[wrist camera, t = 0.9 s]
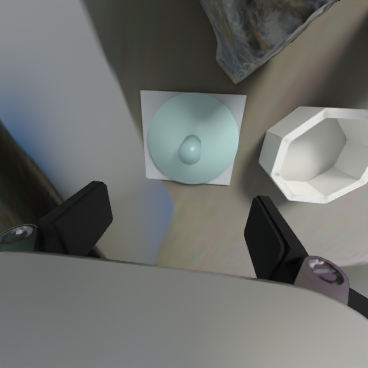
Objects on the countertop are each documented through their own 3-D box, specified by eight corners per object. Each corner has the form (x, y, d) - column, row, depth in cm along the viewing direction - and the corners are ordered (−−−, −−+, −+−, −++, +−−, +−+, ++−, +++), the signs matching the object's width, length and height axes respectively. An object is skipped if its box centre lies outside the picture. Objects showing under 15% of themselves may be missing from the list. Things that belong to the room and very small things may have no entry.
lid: (147, 90, 23) (129, 87, 18) (246, 95, 22) (261, 93, 17) (151, 178, 30) (139, 196, 24) (229, 185, 29) (235, 206, 23)
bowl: (273, 104, 23) (292, 105, 18) (365, 109, 22) (411, 111, 17) (253, 181, 28) (263, 197, 24) (325, 187, 28) (352, 205, 23)
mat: (141, 90, 24) (140, 90, 23) (246, 95, 23) (246, 95, 22) (146, 177, 30) (146, 178, 30) (228, 184, 29) (229, 185, 29)
